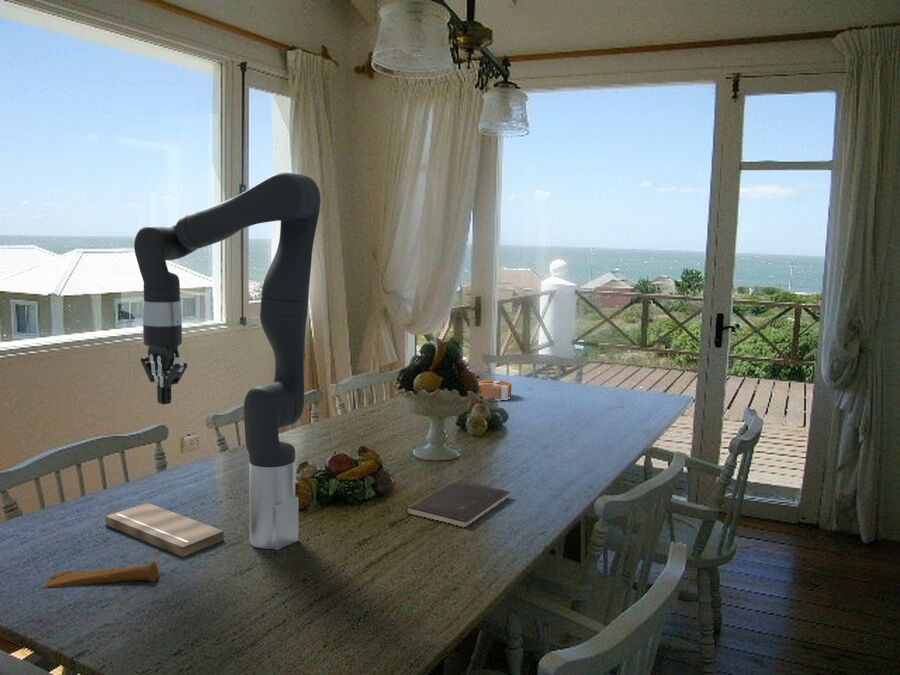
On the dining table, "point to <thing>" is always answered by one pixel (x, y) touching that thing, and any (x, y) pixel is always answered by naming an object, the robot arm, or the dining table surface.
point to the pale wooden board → (165, 529)
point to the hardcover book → (458, 503)
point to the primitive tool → (104, 576)
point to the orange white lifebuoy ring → (495, 389)
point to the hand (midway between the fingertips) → (164, 403)
